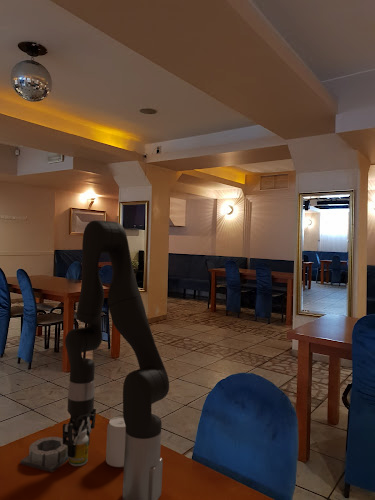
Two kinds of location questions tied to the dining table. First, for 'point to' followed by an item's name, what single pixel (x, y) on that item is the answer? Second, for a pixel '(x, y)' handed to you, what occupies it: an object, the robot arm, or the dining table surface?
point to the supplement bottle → (80, 449)
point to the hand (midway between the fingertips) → (78, 450)
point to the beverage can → (116, 442)
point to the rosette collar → (46, 454)
